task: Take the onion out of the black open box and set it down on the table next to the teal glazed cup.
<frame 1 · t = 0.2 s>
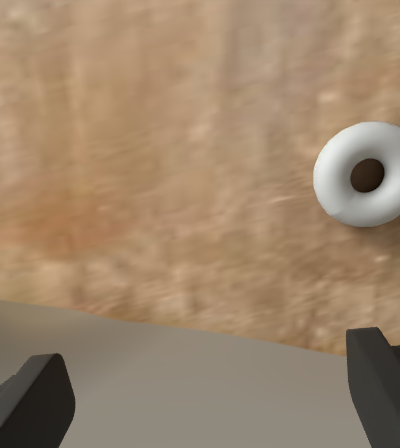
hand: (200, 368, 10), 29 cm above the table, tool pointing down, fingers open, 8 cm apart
donut: (361, 172, 37), on the table
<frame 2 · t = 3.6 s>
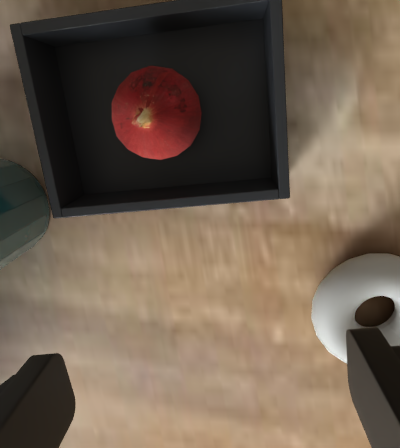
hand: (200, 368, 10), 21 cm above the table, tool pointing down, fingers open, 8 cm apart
onion: (166, 113, 28), resting on black open box
black open box: (167, 113, 29), on the table
cup: (2, 206, 32), on the table
donut: (366, 300, 32), on the table
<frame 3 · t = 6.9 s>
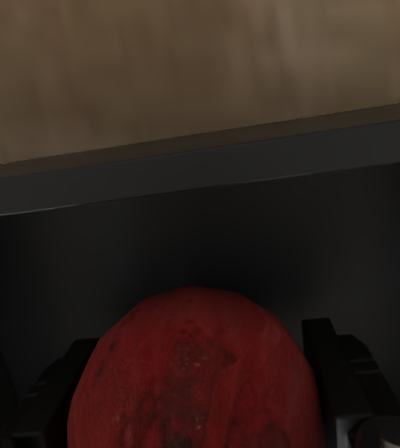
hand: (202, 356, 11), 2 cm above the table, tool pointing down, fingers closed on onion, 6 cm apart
onion: (207, 323, 13), resting on black open box, touching gripper
black open box: (207, 318, 13), on the table
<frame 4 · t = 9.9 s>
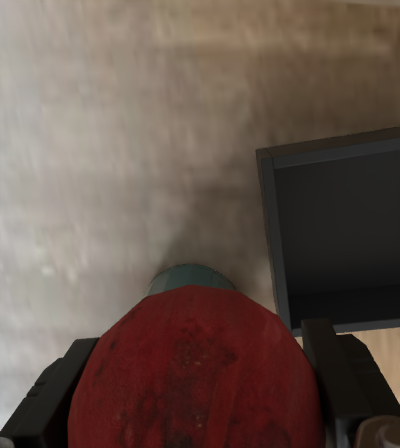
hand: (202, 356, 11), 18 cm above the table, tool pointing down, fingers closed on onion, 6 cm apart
onion: (207, 322, 13), point 16 cm above the table, touching gripper
black open box: (377, 215, 28), on the table
cup: (192, 309, 31), on the table
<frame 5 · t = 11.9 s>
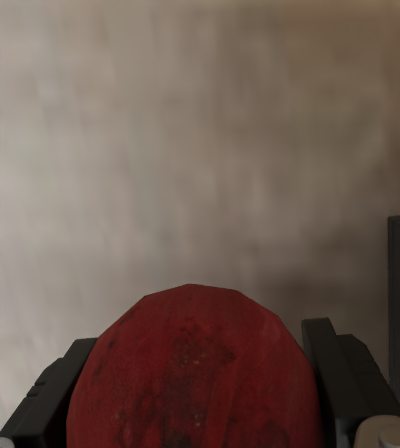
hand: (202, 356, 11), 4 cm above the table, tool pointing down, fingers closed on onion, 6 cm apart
onion: (206, 321, 13), point 2 cm above the table, touching gripper
when the fingers open (2 cm above the table, at t = 13.3 s): onion stays where it is, on the table.
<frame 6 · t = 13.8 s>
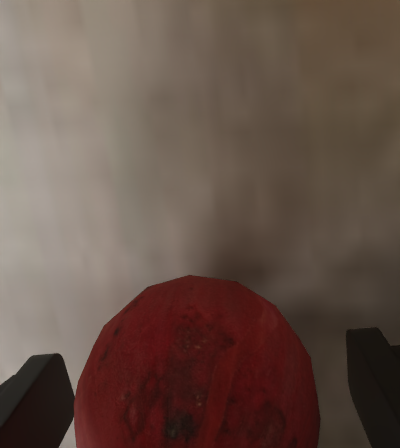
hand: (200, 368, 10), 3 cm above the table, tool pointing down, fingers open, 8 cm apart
onion: (207, 313, 13), on the table
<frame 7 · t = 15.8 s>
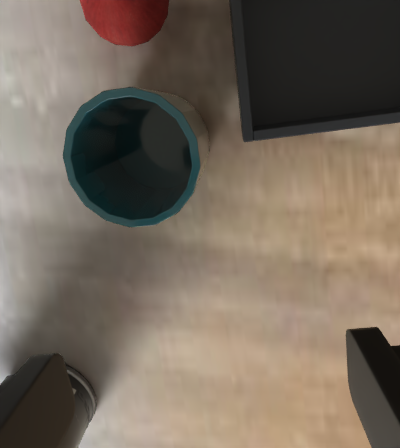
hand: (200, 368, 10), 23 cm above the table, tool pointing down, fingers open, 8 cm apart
onion: (139, 11, 29), on the table
black open box: (345, 36, 28), on the table
cup: (160, 144, 31), on the table
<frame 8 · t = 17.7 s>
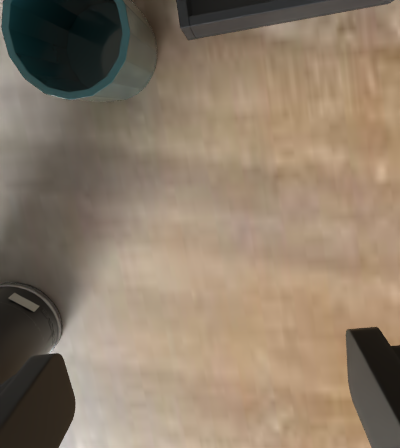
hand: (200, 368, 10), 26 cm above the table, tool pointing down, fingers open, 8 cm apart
cup: (110, 51, 33), on the table
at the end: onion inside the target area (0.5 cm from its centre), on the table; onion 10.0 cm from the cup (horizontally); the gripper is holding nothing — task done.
